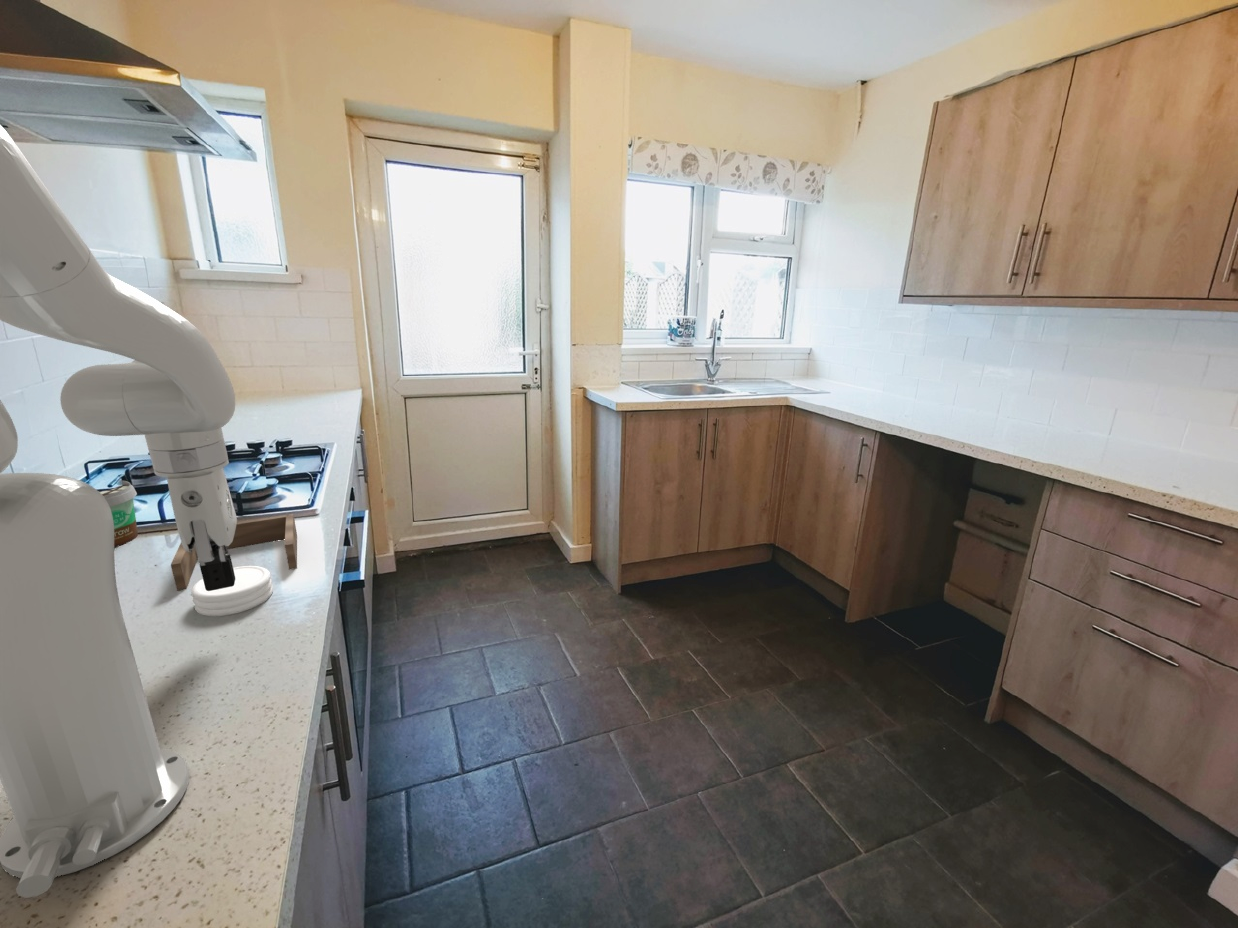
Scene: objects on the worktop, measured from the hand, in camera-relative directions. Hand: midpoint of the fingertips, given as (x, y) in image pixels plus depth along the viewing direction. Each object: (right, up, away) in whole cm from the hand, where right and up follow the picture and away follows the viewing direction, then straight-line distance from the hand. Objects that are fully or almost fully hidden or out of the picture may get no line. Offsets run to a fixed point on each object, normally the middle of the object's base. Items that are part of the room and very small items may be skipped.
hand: (221, 585), depth 75 cm
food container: (-40, +2, +29) cm, 49 cm away
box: (-12, -1, +22) cm, 25 cm away
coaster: (-5, -5, +10) cm, 12 cm away
